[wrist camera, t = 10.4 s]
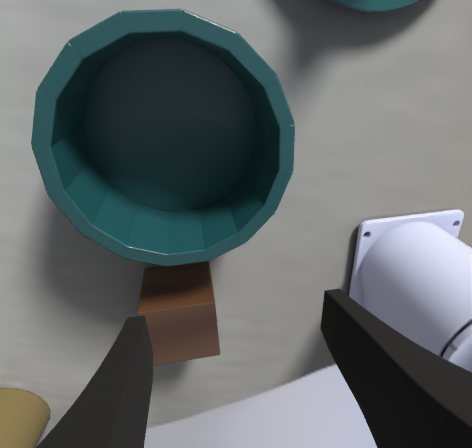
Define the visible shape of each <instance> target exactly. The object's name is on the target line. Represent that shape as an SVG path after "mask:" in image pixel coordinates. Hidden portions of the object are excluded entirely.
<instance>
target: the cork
mask: <svg viewBox="0 0 472 448" xmlns="http://www.w3.org/2000/svg"><path fill="white" fill-rule="evenodd" d="M49 419H50V409H49V407H48V405H47V403H46V402H45V401H44V400H42V399H41V398H40V397H39V396H37V395H35V394H32V393H30V392H27V391H23V390H19V389H8V388H1V389H0V448H35V446H36V444H37V442H38V440H39V438H40V436H41V434H42V432H43V430H44V428H45V426H46V425H47V423H48V421H49Z"/></svg>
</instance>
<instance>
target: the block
mask: <svg viewBox="0 0 472 448" xmlns="http://www.w3.org/2000/svg"><path fill="white" fill-rule="evenodd" d="M137 314H138V316H145V318H146V322H147V327H148V331H149V336H150V340H151V345H152V350H153V366H155V365H161V364H167V363H173V362H179V361H185V360H191V359H198V358H204V357H210V356H216V355H220V347H219V337H218V327H217V317H216V307H215V299H214V292H213V286H212V279H211V273H210V266H209V261H205V262H197V263H189V264H181V265H174V266H162V267H154V268H147V269H144V275H143V281H142V287H141V294H140V300H139V306H138V313H137Z"/></svg>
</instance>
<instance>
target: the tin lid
mask: <svg viewBox="0 0 472 448" xmlns="http://www.w3.org/2000/svg"><path fill="white" fill-rule="evenodd" d="M331 1H332V2H334V3H336V4H338V5H340V6H343V7H345V8H347V9H351V10H355V11H360V12H372V13H377V12H385V11H392V10H396V9H399V8H403V7H406V6H409V5H411V4H414V3H416V2H418V1H420V0H331Z"/></svg>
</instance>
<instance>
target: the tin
mask: <svg viewBox="0 0 472 448" xmlns="http://www.w3.org/2000/svg"><path fill="white" fill-rule="evenodd" d="M294 136H295V125H294V120H293V117H292V115H291V112H290V109H289V106H288V104H287V101H286V98H285V95H284V93H283V90H282V87H281V84H280V82H279V79H278V77H277V74H276V73H275V72H274V71H273V70H272V69H271V68H270V66H269V65H268V64H267V63H266V62H265V61H264V60H263V59H262V58H261V57H260V56H259V55H258V54H257V52H256V51H255V50H254V49H253V48H252V47H251V46H250V45H249V44H248V43H247V42H246V41H245V39H244V38H243V37H242V36H241V35H240V34H237V32H235V31H233V30H230V29H228V28H226V27H223V26H221V25H219V24H216V23H214V22H212V21H210V20H207V19H205V18H203V17H200V16H198V15H196V14H193V13H191V12H189V11H186V10H183V11H182V9H162V10H134V11H122V12H118V13H116V14H114V15H112V16H111V17H109V18H107V19H105V20H104V21H102V22H100V23H98V24H96V25H95V26H93V27H91V28H89V29H88V30H86V31H84V32H82V33H80V34H79V35H77V36H75V37H73V38H72V39H70V40H69V42H67V43H66V44H65V46H64V48H63V49H62V51H61V52H60V54H59V55H58V57H57V59H56V60H55V62H54V63H53V65H52V66H51V68H50V70H49V71H48V73H47V74H46V76H45V77H44V79H43V81H42V82H41V84H40V85H39V87H38V90H37V91H36V100H35V110H34V121H33V131H32V141H31V144H32V149H33V152H34V155H35V158H36V161H37V164H38V167H39V170H40V173H41V176H42V179H43V182H44V185H45V187H46V190H47V193H48V195H49V197H50V198H51V200H52V201H53V202H54V203H55V204H56V205H57V207H58V208H59V209H60V210H61V211H62V212H63V214H64V215H65V216H66V217H67V218H68V220H69V221H70V222H71V223H72V224H73V225H74V227H75V228H76V229H77V230H78V231H79V232H80V233H82V235H84V236H85V237H87V238H89V239H91V240H92V241H94V242H96V243H98V244H99V245H101V246H103V247H105V248H106V249H108V250H110V251H112V252H113V253H115V254H117V255H118V256H120V257H123V258H126V259H131V260H136V261H141V262H146V263H151V264H156V265H161V266H174V265H181V264H189V263H197V262H205V261H208V260H209V261H210V260H212V259H214V258H216V257H218V256H220V255H222V254H224V253H226V252H228V251H230V250H232V249H234V248H236V247H238V246H240V245H242V244H244V243H246V242H247V241H248V240H249V239H250V238H251V237H252V236H253V235H254V234H255V233H256V232H257V231H258V230H259V229H260V228H261V227H262V226H263V225H264V224H265V223H266V222H267V220H268V219H269V218H270V217H271V216H272V215H273V214H274V213H275V211H276V210H277V207H278V205H279V203H280V201H281V198H282V196H283V194H284V191H285V189H286V187H287V184H288V182H289V180H290V178H291V175H292V171H293V163H294Z"/></svg>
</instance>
